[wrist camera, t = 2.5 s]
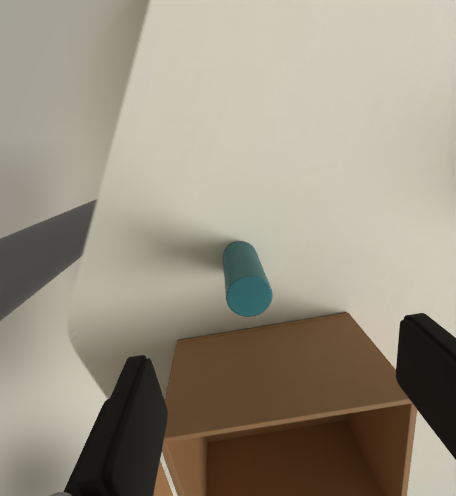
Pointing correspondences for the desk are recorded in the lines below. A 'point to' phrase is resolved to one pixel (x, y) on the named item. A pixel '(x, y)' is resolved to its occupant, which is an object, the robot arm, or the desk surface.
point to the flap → (162, 484)
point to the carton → (287, 413)
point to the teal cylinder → (245, 280)
